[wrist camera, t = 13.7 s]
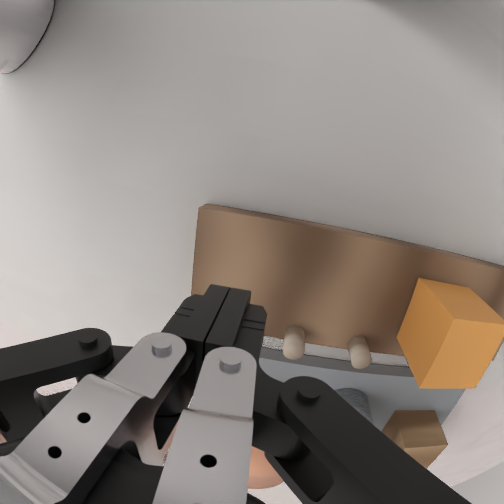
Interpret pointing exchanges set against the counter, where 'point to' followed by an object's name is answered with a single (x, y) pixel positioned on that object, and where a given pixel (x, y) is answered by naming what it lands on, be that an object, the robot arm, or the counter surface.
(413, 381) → the slate tray
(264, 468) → the salmon domed cylinder
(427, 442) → the oak block
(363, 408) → the metal canister
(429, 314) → the orange block
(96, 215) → the counter surface
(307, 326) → the rail
